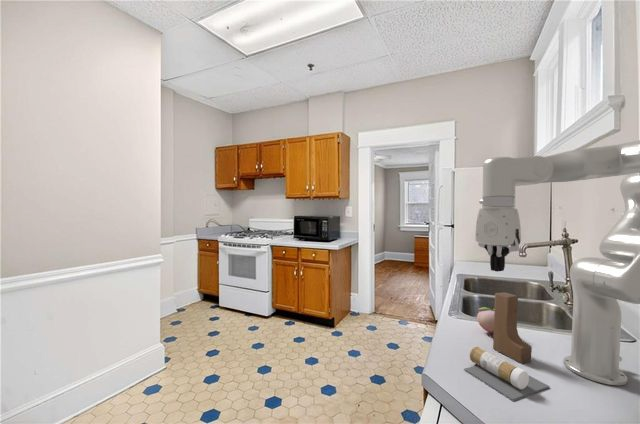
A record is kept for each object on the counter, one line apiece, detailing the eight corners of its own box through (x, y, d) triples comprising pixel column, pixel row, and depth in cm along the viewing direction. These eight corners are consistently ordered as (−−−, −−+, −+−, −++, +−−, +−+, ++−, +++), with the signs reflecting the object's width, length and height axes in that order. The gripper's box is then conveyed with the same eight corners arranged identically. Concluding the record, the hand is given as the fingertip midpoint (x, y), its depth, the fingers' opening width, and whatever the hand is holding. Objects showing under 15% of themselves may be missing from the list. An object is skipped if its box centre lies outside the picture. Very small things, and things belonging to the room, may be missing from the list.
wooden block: (531, 361, 82) (534, 300, 82) (521, 364, 80) (523, 302, 80) (502, 346, 90) (504, 291, 90) (492, 349, 89) (494, 292, 89)
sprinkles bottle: (478, 361, 81) (528, 389, 69) (467, 361, 79) (516, 391, 67) (480, 345, 81) (531, 370, 69) (470, 345, 80) (519, 371, 67)
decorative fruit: (481, 337, 97) (482, 309, 97) (474, 327, 105) (475, 301, 104) (512, 341, 95) (513, 312, 94) (502, 331, 103) (503, 304, 102)
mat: (498, 360, 82) (498, 359, 82) (549, 387, 70) (549, 386, 70) (464, 370, 77) (464, 368, 77) (512, 401, 65) (512, 399, 65)
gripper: (464, 203, 81) (463, 266, 82) (518, 203, 68) (516, 278, 68) (482, 203, 84) (481, 264, 85) (537, 203, 71) (535, 275, 71)
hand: (497, 270), depth 76 cm, fingers closed
